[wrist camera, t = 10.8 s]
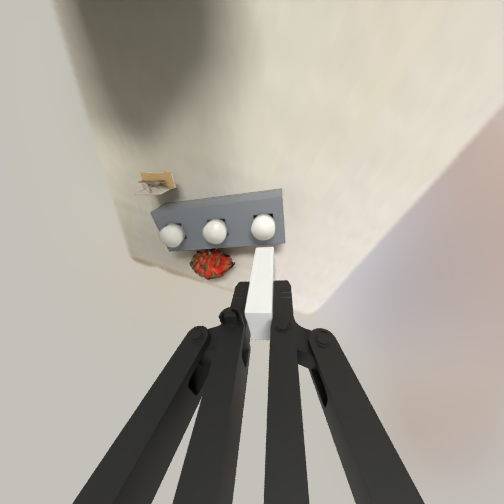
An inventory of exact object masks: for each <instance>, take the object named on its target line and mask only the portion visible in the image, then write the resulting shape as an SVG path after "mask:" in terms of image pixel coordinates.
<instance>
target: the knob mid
mask: <svg viewBox="0 0 504 504" xmlns="http://www.w3.org/2000/svg"><path fill="white" fill-rule="evenodd" d="M227 233H228V227H227V225H226V222H225V218H224V219H212V220H210V221H209V222H208V223H207V225H206V226H205V227H204V229H203V236H204V238H205V239H206V240H207V241H208V242H210V243H212V244H220V243H222V242H223V241H224V239H225V237H226V235H227Z"/></svg>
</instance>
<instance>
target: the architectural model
mask: <svg viewBox="0 0 504 504" xmlns="http://www.w3.org/2000/svg"><path fill="white" fill-rule="evenodd" d="M141 176H142V179H143V180H142V181H139V182H142V184H143V187H144V190H143V191H140V192H138V193H136V194H135V195H161V194H163V193H165V192H167V191H169V190H171V189H173V188H176V187H177V185H175V182H174V178H173V175H172V172H149V173H141ZM154 181H156V182H157V181H159V182H160V184H161V185H154ZM139 182H138V183H139Z"/></svg>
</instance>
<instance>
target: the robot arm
mask: <svg viewBox="0 0 504 504" xmlns="http://www.w3.org/2000/svg"><path fill="white" fill-rule="evenodd" d="M219 319H220V322H221V325H219V326H217V327H214V328H210V329H207V328H206V327H204V326H197V327H194V328H193V329H191V330H190V331H189V332H188V333H187V335H186V337H185V338H184V340H183V341H182V342H181V344H180V345H179V347H178V348H177V350H176V351H175V353H174V354H173V356H172V357H171V359H170V360H169V362H168V363H167V365H166V366H165V367H164V369H163V371H162V372H161V373H160V375H159V376H158V378H157V379H156V381H155V382H154V384H153V385H152V387H151V388H150V390H149V391H148V393H147V394H146V396H145V397H144V399H143V400H142V401H141V403H140V405H139V406H138V408H137V409H136V410H135V412H134V413H133V415H132V416H131V418H130V419H129V421H128V422H127V424H126V425H125V427H124V428H123V430H122V431H121V433H120V434H119V436H118V437H117V438H116V440H115V441H114V443H113V444H112V446H111V447H110V449H109V450H108V452H107V453H106V455H105V456H104V458H103V459H102V461H101V462H100V464H99V465H98V467H97V468H96V470H95V471H94V473H93V474H92V475H91V477H90V478H89V480H88V482H87V483H86V484H85V486H84V487H83V489H82V490H81V492H80V493H79V495H78V496H77V498H76V499H75V501H74V502H73V504H151V503H152V501H153V499H154V497H155V495H156V493H157V490H158V488H159V486H160V484H161V482H162V480H163V478H164V476H165V474H166V471H167V469H168V467H169V465H170V463H171V461H172V459H173V456H174V454H175V452H176V450H177V448H178V446H179V444H180V442H181V440H182V438H183V435H184V433H185V431H186V429H187V427H188V425H189V423H190V421H191V419H192V416H193V414H194V412H195V410H196V408H197V406H198V404H199V402H200V399H201V397H202V399H201V403H200V407H199V410H198V414H197V417H196V421H195V425H194V428H193V432H192V435H191V439H190V442H189V446H188V450H187V453H186V457H185V460H184V464H183V468H182V471H181V475H180V479H179V482H178V486H177V489H176V494H175V497H174V500H173V504H232V501H233V492H234V484H235V475H236V467H237V459H238V450H239V442H240V433H241V424H242V417H243V408H244V399H245V391H246V383H247V374H248V366H249V358H250V336H251V340H270V355H269V380H268V382H269V383H268V406H267V433H266V459H265V485H264V487H265V488H264V504H309V494H308V482H307V470H306V457H305V446H304V434H303V422H302V409H301V399H300V398H301V397H300V386H299V373H298V364H299V365H302V366H304V367H306V368H308V369H309V371H310V374H311V377H312V380H313V383H314V385H315V388H316V391H317V394H318V397H319V400H320V403H321V405H322V408H323V411H324V414H325V417H326V420H327V423H328V426H329V428H330V431H331V434H332V437H333V440H334V443H335V445H336V448H337V451H338V454H339V457H340V460H341V463H342V466H343V468H344V471H345V474H346V477H347V480H348V483H349V485H350V488H351V491H352V494H353V497H354V499H355V502H356V504H424V502H423V500H422V498H421V496H420V494H419V492H418V490H417V489H416V487H415V485H414V483H413V481H412V479H411V477H410V476H409V474H408V472H407V470H406V468H405V466H404V464H403V462H402V461H401V459H400V457H399V455H398V453H397V451H396V449H395V448H394V446H393V444H392V442H391V440H390V438H389V436H388V435H387V433H386V431H385V429H384V427H383V425H382V423H381V422H380V420H379V418H378V416H377V414H376V412H375V410H374V409H373V407H372V405H371V403H370V401H369V399H368V397H367V395H366V394H365V392H364V390H363V388H362V386H361V384H360V383H359V381H358V379H357V377H356V375H355V373H354V371H353V370H352V368H351V366H350V364H349V362H348V360H347V358H346V356H345V355H344V353H343V351H342V349H341V347H340V345H339V343H338V342H337V340H336V338H335V337H334V335H333V334H332V333H331V332H330V331H328V330H326V329H322V328H317V329H314V330H312V331H311V330H308V329H305V328H303V327H301V326H299V325H298V324H297V323H296V322H295V320H294V316H293V305H292V293H291V285H290V284H289V282H288V281H287V280H285V281H276V268H275V256H274V247H259V248H256V251H255V256H254V262H253V268H252V273H251V279H250V282H239V283H238V284H237V286H236V287H235V291H234V295H233V299H232V303H231V306H230V307H228V308H226V309H224V310H223V311H222V312H221V313H220V315H219Z"/></svg>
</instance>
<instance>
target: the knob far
mask: <svg viewBox="0 0 504 504" xmlns="http://www.w3.org/2000/svg"><path fill="white" fill-rule="evenodd" d="M159 238H160V240H161V241H162V243H163V244H165V245H166V246H168V247H177V246H178V245H179V244H180V243H181V242H182V241H183V240H184V238H185V232H184V230H183V227H182V225H181V223H177V224H174V223H171V224H168V225H167V226H165V227H164V228H163V229H162V230H161V231H160V232H159Z"/></svg>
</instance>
